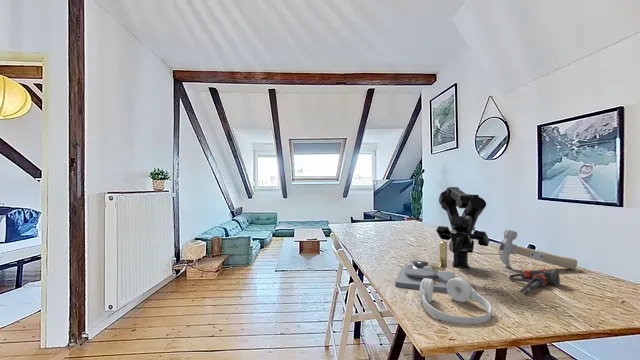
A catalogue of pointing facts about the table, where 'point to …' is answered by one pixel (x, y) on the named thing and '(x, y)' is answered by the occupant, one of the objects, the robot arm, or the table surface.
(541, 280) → the valve
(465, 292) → the headphones
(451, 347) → the table surface
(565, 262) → the hammer
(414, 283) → the housing plate
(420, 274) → the brass lever assembly
